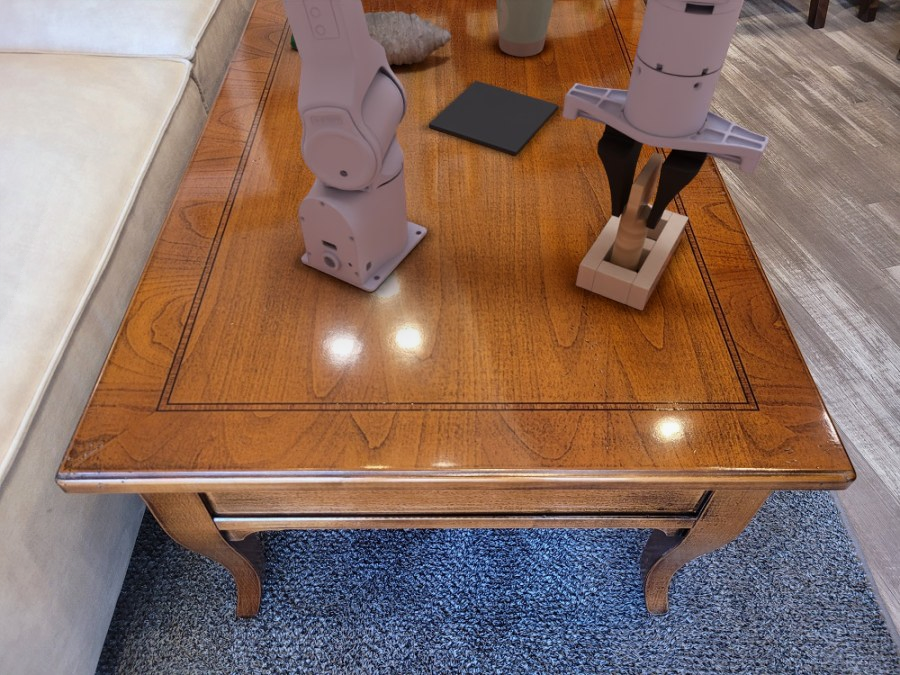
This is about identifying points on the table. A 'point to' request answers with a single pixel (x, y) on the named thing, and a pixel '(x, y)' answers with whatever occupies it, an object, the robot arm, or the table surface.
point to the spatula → (636, 216)
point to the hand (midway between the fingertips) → (636, 215)
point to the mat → (494, 117)
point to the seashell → (405, 36)
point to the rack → (651, 265)
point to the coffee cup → (523, 25)
